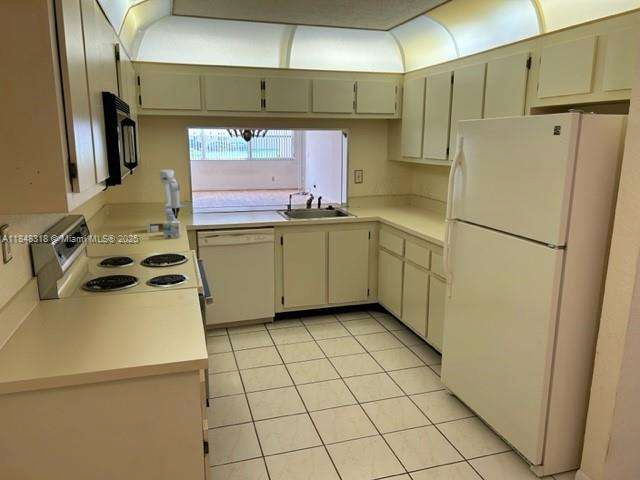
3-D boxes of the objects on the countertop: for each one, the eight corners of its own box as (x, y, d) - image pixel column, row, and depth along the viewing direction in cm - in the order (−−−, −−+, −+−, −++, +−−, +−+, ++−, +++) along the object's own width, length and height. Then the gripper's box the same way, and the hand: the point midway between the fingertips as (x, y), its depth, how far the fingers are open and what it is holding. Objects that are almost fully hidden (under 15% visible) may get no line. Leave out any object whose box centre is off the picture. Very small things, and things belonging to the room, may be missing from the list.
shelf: (147, 231, 344) (147, 224, 343) (173, 230, 350) (172, 222, 349) (147, 234, 333) (146, 227, 332) (173, 233, 339) (173, 225, 337)
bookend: (147, 230, 342) (146, 219, 340) (150, 229, 343) (149, 218, 341) (147, 232, 333) (146, 221, 331) (150, 232, 334) (149, 221, 332)
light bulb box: (163, 238, 322) (162, 223, 320) (164, 236, 328) (163, 221, 326) (180, 238, 324) (179, 222, 322) (180, 236, 331) (179, 220, 328)
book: (151, 230, 342) (150, 226, 341) (158, 229, 344) (158, 225, 343) (151, 232, 335) (150, 228, 334) (158, 231, 336) (158, 227, 335)
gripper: (164, 200, 335) (165, 219, 338) (185, 200, 339) (186, 218, 342) (164, 199, 341) (165, 218, 344) (185, 198, 346) (186, 217, 349)
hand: (176, 218), depth 344 cm, fingers closed
